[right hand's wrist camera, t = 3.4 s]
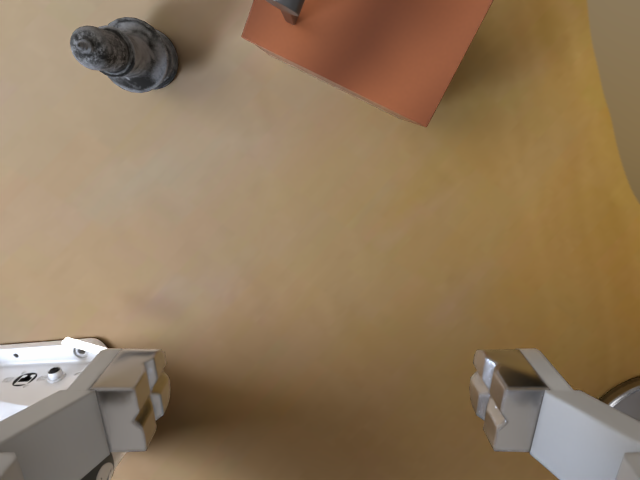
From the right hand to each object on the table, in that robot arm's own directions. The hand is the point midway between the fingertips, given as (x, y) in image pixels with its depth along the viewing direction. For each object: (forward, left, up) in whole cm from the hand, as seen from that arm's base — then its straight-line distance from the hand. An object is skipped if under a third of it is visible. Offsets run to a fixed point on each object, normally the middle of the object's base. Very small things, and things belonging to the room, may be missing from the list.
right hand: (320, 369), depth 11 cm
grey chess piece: (-17, +8, -33) cm, 37 cm away
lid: (+2, +12, -23) cm, 26 cm away
